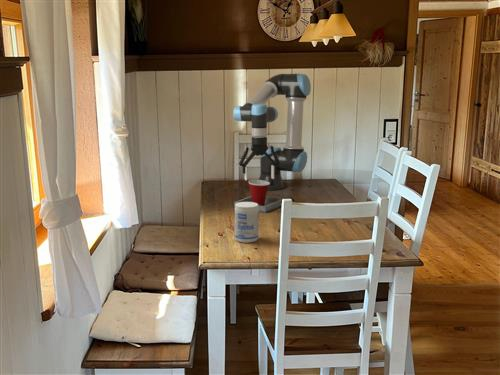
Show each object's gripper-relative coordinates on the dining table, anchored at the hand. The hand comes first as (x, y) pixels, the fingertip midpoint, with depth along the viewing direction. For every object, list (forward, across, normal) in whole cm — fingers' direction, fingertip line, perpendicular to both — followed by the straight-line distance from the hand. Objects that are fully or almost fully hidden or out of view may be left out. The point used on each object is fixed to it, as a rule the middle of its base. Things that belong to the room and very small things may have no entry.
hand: (259, 179), depth 266 cm
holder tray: (+14, 0, 0) cm, 14 cm away
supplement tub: (+14, +17, +51) cm, 56 cm away
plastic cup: (+13, 0, 0) cm, 13 cm away
